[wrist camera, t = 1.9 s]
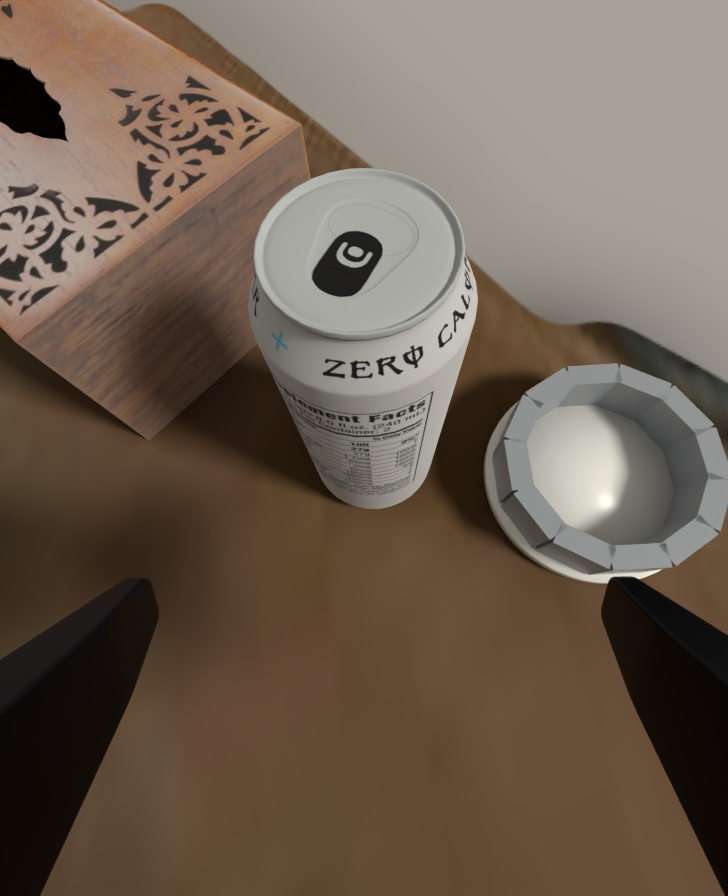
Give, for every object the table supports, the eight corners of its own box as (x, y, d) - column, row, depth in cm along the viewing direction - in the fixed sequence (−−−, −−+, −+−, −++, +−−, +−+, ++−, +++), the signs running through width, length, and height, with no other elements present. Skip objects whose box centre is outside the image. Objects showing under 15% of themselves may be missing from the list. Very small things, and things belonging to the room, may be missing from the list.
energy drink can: (448, 435, 25) (533, 197, 11) (398, 533, 23) (420, 406, 9) (351, 390, 26) (311, 122, 12) (297, 480, 24) (173, 294, 10)
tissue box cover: (-71, 218, 32) (-257, 56, 23) (93, 110, 36) (-12, -71, 26) (151, 442, 26) (15, 342, 16) (328, 283, 29) (301, 123, 19)
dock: (576, 628, 21) (609, 630, 18) (443, 452, 24) (452, 428, 21) (737, 507, 23) (793, 491, 20) (592, 357, 26) (620, 322, 23)
